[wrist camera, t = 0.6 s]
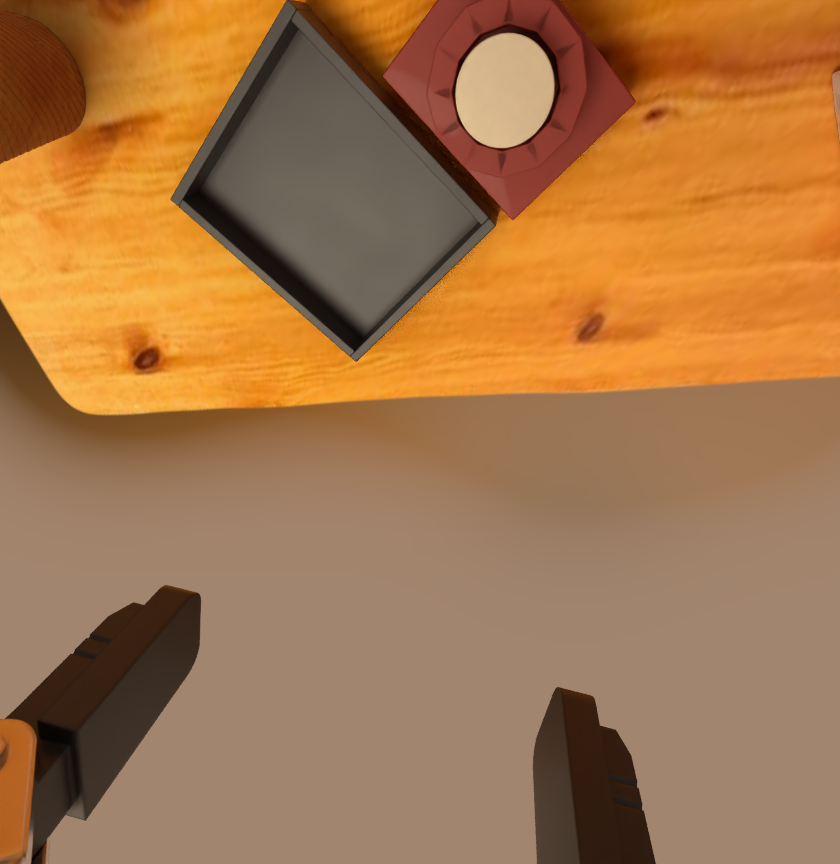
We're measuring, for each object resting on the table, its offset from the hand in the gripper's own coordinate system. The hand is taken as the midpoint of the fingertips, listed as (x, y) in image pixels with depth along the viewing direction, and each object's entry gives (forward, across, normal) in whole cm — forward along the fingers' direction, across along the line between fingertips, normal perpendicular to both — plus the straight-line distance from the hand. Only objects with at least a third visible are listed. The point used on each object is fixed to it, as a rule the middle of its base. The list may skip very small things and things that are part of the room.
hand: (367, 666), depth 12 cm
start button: (+21, +1, -15) cm, 26 cm away
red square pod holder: (+26, +1, -16) cm, 30 cm away
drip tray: (+28, +10, -8) cm, 30 cm away
